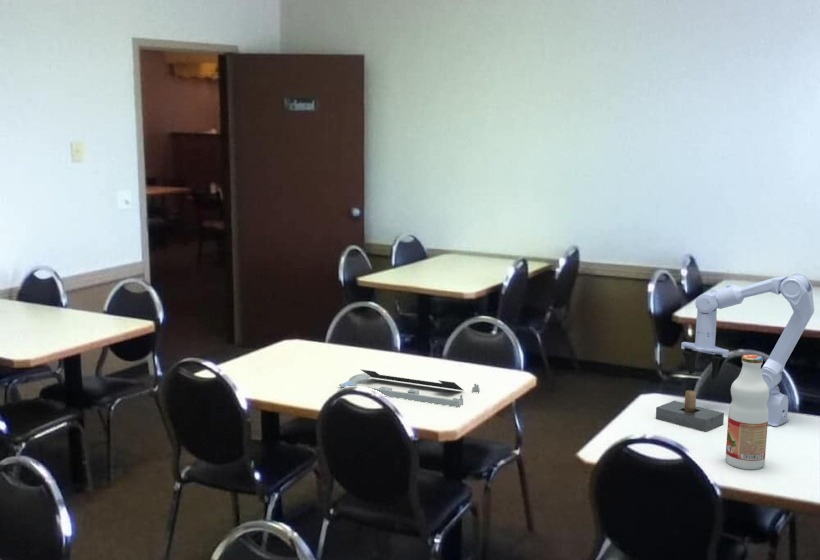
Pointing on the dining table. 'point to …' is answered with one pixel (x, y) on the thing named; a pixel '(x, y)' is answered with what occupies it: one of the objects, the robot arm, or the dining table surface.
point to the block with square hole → (690, 416)
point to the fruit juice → (748, 416)
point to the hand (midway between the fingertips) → (703, 375)
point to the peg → (690, 401)
